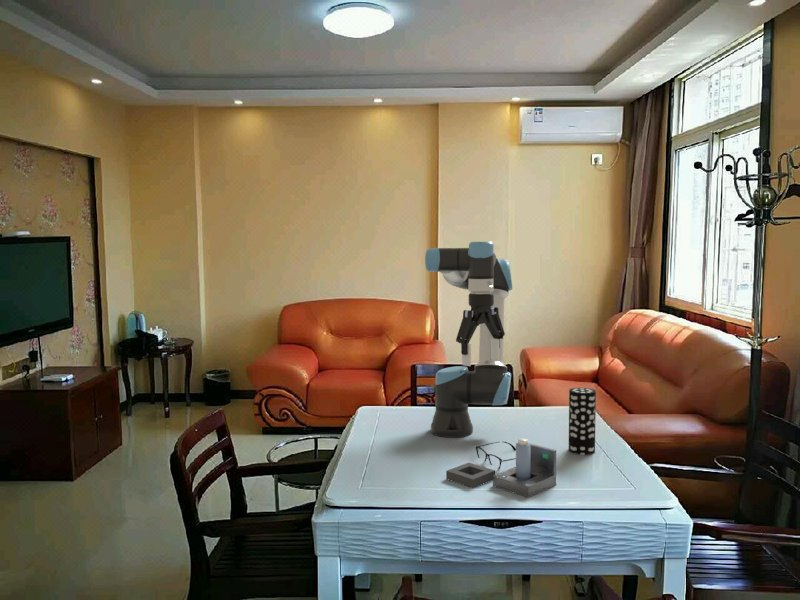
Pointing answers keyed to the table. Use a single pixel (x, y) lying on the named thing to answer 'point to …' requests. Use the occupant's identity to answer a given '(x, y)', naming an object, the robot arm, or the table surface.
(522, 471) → the plug
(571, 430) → the white-spotted black cylinder
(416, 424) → the table surface
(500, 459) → the eyeglasses
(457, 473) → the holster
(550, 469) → the port
